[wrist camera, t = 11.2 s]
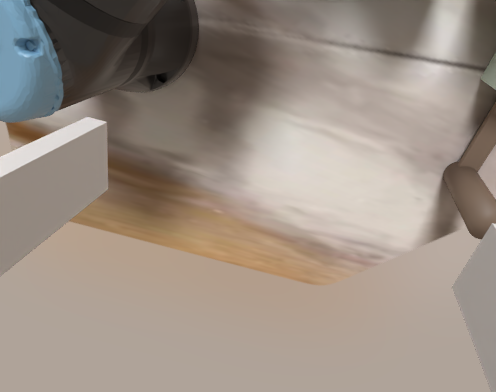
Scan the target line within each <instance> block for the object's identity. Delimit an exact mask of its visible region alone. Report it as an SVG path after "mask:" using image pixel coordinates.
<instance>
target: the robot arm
mask: <svg viewBox="0 0 496 392" xmlns="http://www.w3.org/2000/svg"><path fill="white" fill-rule="evenodd" d="M197 40H198V16H197V10H196V6H195V2H194V0H0V121H3V122H21V121H25V120H29V119H34V118H41V117H47V116H50V115H52V114H53V113H54V112H55V111H58V110H60V109H63V108H66V107H68V106H71V105H73V104H76V103H78V102H81V101H83V100H86V99H89V98H91V97H94V96H96V95H99V94H101V93H104V92H106V91H109V90H112V89H119V90H124V91H129V92H149V91H153V90H157V89H159V88H161V87H164V86H166V85H168V84H170V83H172V82H173V81H175V80H176V79H177V78H178V77H179V76H181V74H182V73H183V72H184V71H185V70H186V68H187V67H188V65H189V64H190V62H191V60H192V58H193V55H194V52H195V49H196V45H197ZM107 190H108V149H107V122H105V121H101V120H97V119H94V118H90V117H86V118H83V119H81V120H79V121H77V122H75V123H73V124H70V125H68V126H66V127H64V128H62V129H60V130H57V131H55V132H53V133H51V134H49V135H46V136H44V137H42V138H40V139H38V140H36V141H33V142H31V143H29V144H27V145H25V146H22V147H20V148H18V149H16V150H14V151H12V152H9V153H8V154H5V155H3V156H1V157H0V276H1V275H2V274H4V273H5V272H6V271H7V270H9V269H10V268H11V267H12V266H14V265H15V264H16V263H17V262H19V261H20V260H21V259H22V258H23V257H25V256H26V255H27V254H28V253H30V252H31V251H32V250H33V249H35V248H36V247H37V246H38V245H40V244H41V243H42V242H43V241H45V240H46V239H47V238H48V237H50V236H51V235H52V234H53V233H55V232H56V231H57V230H58V229H60V228H61V227H62V226H63V225H64V224H66V223H67V222H68V221H69V220H71V219H72V218H73V217H74V216H76V215H77V214H78V213H79V212H81V211H82V210H83V209H84V208H86V207H87V206H88V205H89V204H91V203H92V202H93V201H94V200H95V199H97V198H98V197H99V196H100V195H102V194H103V193H104V192H105V191H107ZM452 288H453V291H454V294H455V296H456V299H457V302H458V304H459V307H460V310H461V312H462V315H463V317H464V320H465V323H466V326H467V328H468V331H469V334H470V336H471V339H472V341H473V344H474V347H475V350H476V352H477V355H478V358H479V360H480V363H481V366H482V368H483V371H484V373H485V376H486V379H487V382H488V384H489V387H490V389H491V392H496V224H494V223H492V224H491V226H490V227H489V229H488V230H487V232H486V234H485V235H484V237H483V238H482V240H481V242H480V243H479V245H478V246H477V248H476V250H475V251H474V253H473V255H472V256H471V258H470V259H469V261H468V262H467V264H466V265H465V267H464V269H463V270H462V272H461V274H460V275H459V277H458V278H457V280H456V281H455V283H454V285H453V286H452Z"/></svg>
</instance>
